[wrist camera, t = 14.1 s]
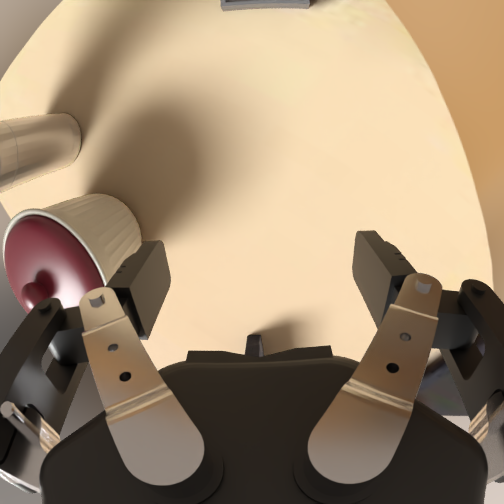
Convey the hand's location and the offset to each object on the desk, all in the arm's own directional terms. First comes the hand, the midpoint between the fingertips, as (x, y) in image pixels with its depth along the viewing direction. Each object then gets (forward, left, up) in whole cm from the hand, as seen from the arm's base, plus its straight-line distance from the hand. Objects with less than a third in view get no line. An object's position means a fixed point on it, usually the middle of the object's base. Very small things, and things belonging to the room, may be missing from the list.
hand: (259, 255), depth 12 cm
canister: (-25, -9, -28) cm, 39 cm away
